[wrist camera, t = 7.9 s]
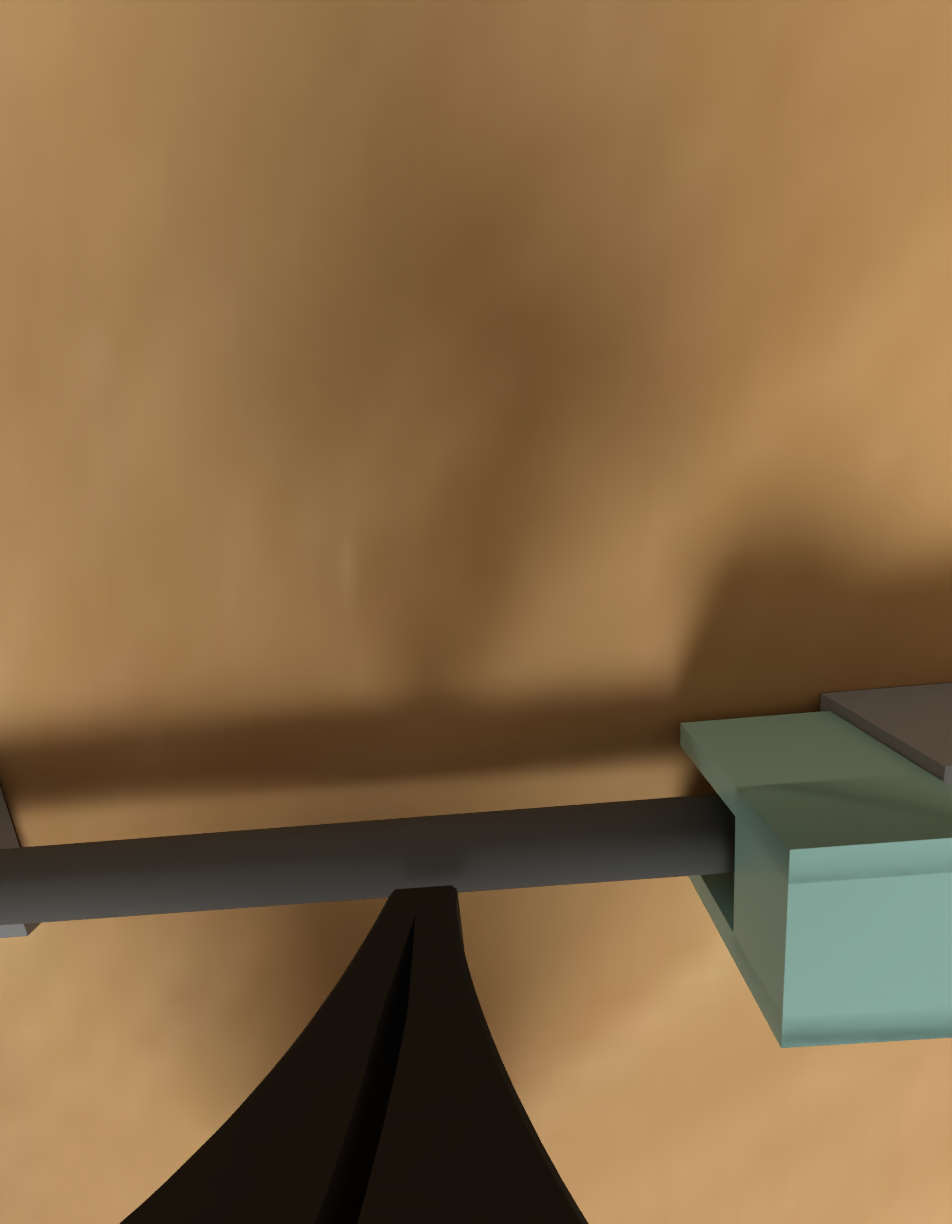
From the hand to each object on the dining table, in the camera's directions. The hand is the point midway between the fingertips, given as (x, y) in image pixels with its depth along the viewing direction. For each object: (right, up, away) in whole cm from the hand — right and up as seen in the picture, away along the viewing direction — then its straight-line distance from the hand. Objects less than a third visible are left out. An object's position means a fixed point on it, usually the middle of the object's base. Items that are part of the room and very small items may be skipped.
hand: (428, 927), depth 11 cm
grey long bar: (-2, +1, +4) cm, 5 cm away
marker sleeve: (+9, +2, +4) cm, 10 cm away
